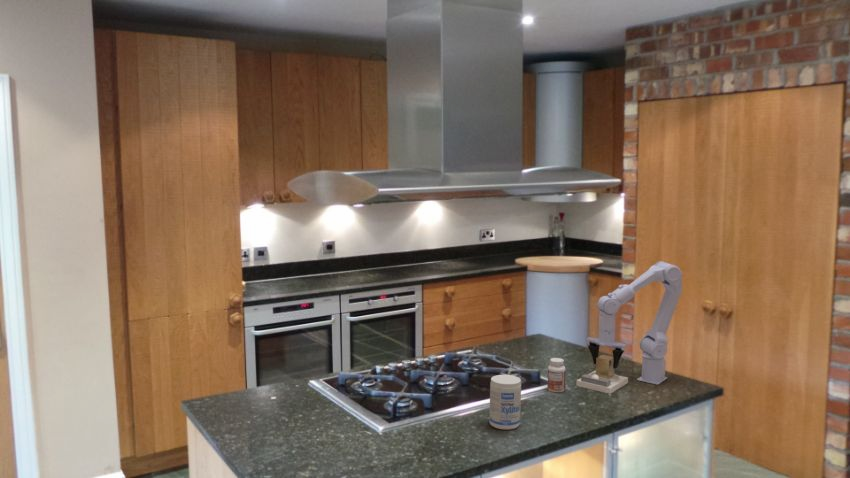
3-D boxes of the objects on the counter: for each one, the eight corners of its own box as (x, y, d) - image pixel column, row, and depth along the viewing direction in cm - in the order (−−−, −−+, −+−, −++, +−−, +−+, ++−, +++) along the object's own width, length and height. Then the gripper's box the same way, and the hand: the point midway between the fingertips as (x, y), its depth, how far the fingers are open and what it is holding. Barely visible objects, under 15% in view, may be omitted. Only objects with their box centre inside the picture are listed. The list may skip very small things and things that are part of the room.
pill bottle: (555, 385, 254) (556, 356, 252) (568, 390, 249) (569, 360, 248) (543, 389, 250) (544, 359, 248) (557, 394, 245) (558, 363, 244)
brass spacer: (601, 372, 260) (602, 354, 259) (614, 375, 257) (615, 357, 256) (595, 376, 256) (596, 357, 255) (608, 379, 253) (609, 360, 252)
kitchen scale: (595, 375, 265) (595, 362, 265) (627, 382, 257) (628, 369, 256) (576, 385, 254) (576, 371, 253) (610, 393, 246) (610, 379, 245)
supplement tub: (503, 433, 212) (504, 386, 210) (482, 423, 219) (483, 378, 217) (526, 425, 218) (527, 380, 216) (505, 416, 225) (506, 372, 223)
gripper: (583, 328, 256) (582, 364, 258) (621, 335, 247) (619, 372, 249) (592, 324, 261) (590, 359, 263) (629, 331, 252) (627, 367, 254)
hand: (605, 365), depth 256 cm, fingers open, 7 cm apart
